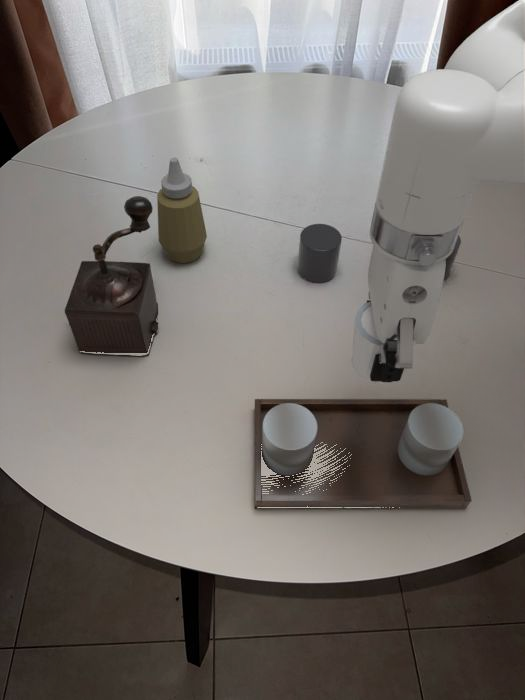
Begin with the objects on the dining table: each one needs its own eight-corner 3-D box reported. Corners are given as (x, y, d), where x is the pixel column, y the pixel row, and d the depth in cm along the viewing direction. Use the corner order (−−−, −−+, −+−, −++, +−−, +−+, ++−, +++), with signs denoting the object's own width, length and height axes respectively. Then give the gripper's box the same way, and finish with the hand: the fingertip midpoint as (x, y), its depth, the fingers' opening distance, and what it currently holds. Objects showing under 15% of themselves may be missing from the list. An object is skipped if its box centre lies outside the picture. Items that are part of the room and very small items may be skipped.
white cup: (377, 330, 69) (388, 289, 63) (419, 368, 66) (434, 327, 60) (333, 356, 66) (341, 315, 61) (374, 397, 63) (386, 358, 57)
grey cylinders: (444, 256, 100) (456, 224, 94) (453, 283, 96) (465, 251, 90) (296, 255, 99) (299, 223, 94) (298, 283, 95) (301, 250, 90)
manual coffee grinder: (153, 358, 85) (134, 267, 71) (78, 354, 85) (44, 263, 71) (168, 283, 95) (154, 190, 81) (100, 280, 95) (75, 187, 81)
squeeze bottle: (210, 237, 102) (204, 145, 88) (205, 269, 97) (198, 177, 83) (164, 235, 102) (150, 143, 88) (157, 267, 97) (142, 174, 83)
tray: (442, 408, 80) (457, 377, 74) (466, 508, 71) (485, 481, 65) (254, 408, 80) (255, 376, 74) (254, 509, 71) (255, 481, 65)
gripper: (482, 296, 45) (427, 418, 59) (438, 166, 56) (401, 295, 70) (386, 296, 45) (354, 418, 59) (361, 165, 56) (339, 295, 70)
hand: (380, 350), depth 64 cm, fingers closed on white cup, 6 cm apart
